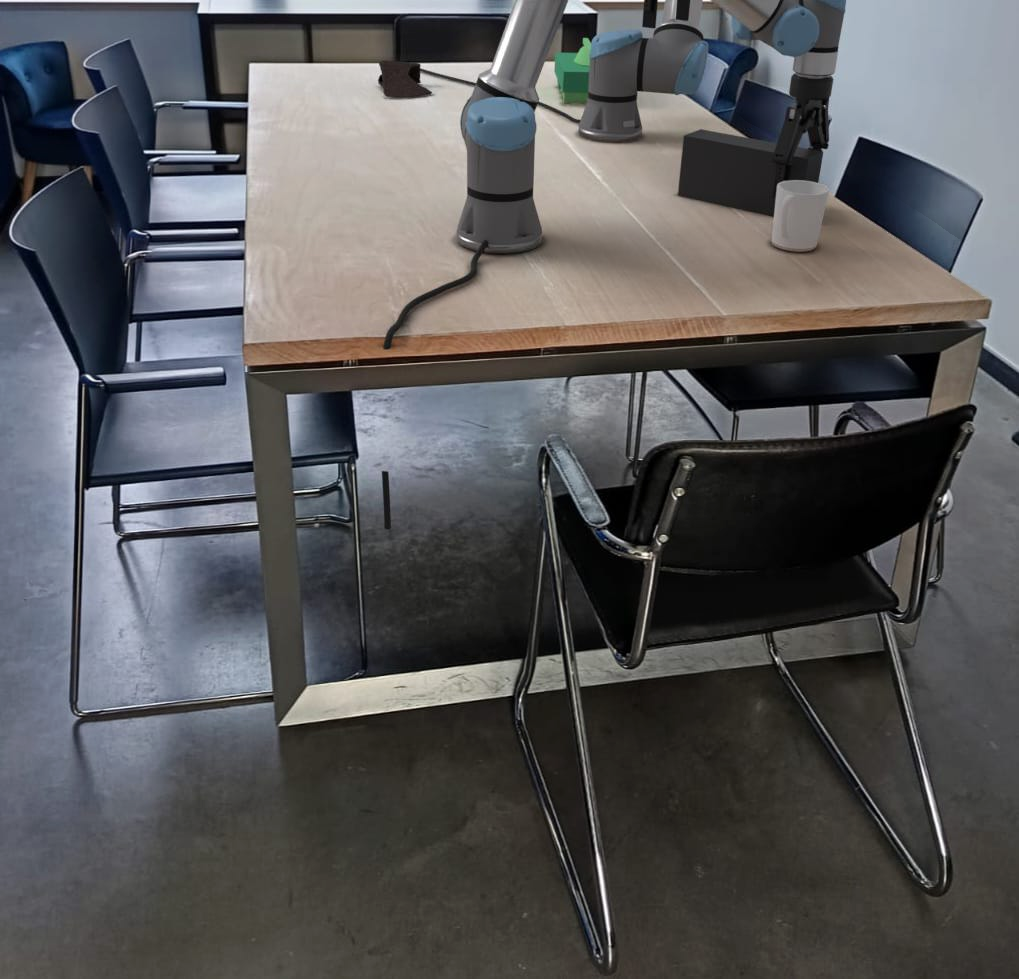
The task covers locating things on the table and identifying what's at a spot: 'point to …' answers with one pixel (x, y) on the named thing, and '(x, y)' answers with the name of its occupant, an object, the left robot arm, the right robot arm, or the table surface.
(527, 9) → the left robot arm
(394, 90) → the axe head
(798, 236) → the mug
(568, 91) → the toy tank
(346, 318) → the table surface
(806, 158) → the box
